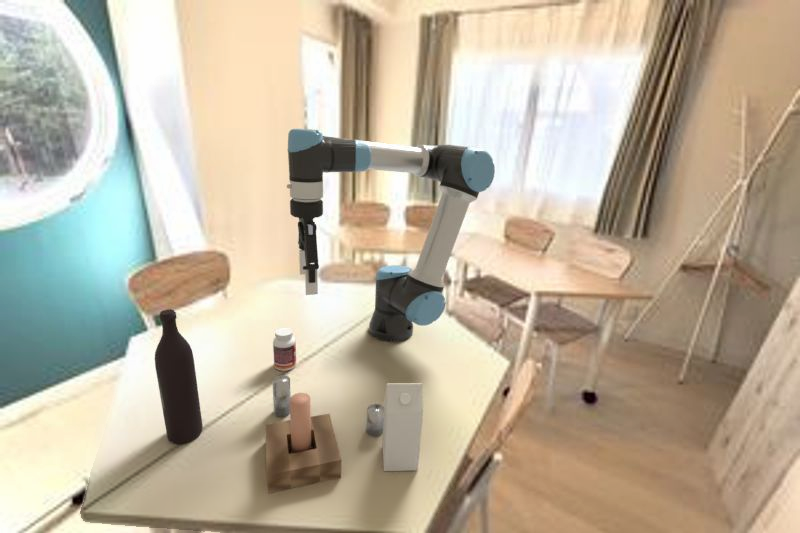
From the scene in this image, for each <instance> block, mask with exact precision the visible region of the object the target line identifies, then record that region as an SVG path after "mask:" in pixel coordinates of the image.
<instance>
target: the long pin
mask: <svg viewBox="0 0 800 533" xmlns="http://www.w3.org/2000/svg"><path fill="white" fill-rule="evenodd" d="M311 410H312V409H311V397H310V395H309V394H308V393H305V392H298V393H295V394H292V395H291V398H290V414H289V416H290V417H289V419H290V420H291V445H292V450H291V454H292V453H297V452H302V451H307V450H312V447H311V417H312V415H311Z"/></svg>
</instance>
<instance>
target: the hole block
mask: <svg viewBox="0 0 800 533" xmlns="http://www.w3.org/2000/svg"><path fill="white" fill-rule="evenodd" d="M264 428H265V431H264V432H265V453H266V454H265V456H266V457H265V458H266V474H267V475H266V477H267V479H266V480H267V493H268V494H271V493H272V494H273V493H275V492H280V491H281V492H282V491H284V490H285V491H286V490H290V489H294V488H298V487H303V486H309V485H312V484H317V483H322V482H325V481H330V480H334V479H339V478H342V458H341V454H340V449H339V446H338V442H337V438H336V433H335V430H334V426H333V422H332V417H331V413H325V414H319V415H315V416H313V415H312V416H311V450H307V451H302V452H297V453H292V445H291V420H284V421H279V422H272V423H267V424H266V423H265V425H264ZM312 447H313V449H312ZM289 452H291V453H289Z"/></svg>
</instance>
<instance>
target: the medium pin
mask: <svg viewBox="0 0 800 533" xmlns="http://www.w3.org/2000/svg"><path fill="white" fill-rule="evenodd" d="M272 395H273V396H272V399H273V400H272V401H273V403H272V404H273V414H274V416H276V417H278V418H285V417H287V416H290V398H291V397H292V395H291V378H290V376H288V375H286V374H280V375H276V376H275V377H273V378H272Z"/></svg>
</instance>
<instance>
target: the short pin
mask: <svg viewBox="0 0 800 533" xmlns="http://www.w3.org/2000/svg"><path fill="white" fill-rule="evenodd" d="M365 420H366V423H365V425H366V426H365V432H366V435H367V436H370V437H371V438H375V437H380V436H383V422H384V406H383V405H382V404H381V403H372V404H371V403H370V404H369V405H368V406H367V408H366V419H365Z"/></svg>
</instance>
